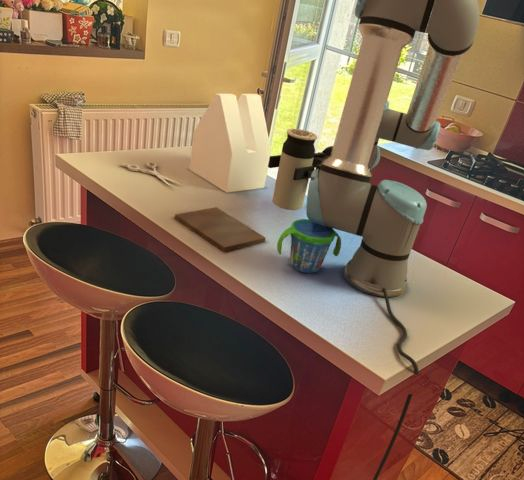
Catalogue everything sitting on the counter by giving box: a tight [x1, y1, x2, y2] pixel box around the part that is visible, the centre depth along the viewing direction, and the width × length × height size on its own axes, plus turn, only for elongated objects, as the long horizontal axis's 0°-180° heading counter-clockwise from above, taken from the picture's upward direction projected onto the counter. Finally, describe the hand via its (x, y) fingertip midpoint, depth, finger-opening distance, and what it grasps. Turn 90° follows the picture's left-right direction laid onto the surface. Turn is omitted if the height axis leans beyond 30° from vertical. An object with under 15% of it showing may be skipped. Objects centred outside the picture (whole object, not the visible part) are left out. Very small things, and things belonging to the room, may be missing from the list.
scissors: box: [120, 161, 180, 187], centre depth 163 cm, size 11×1×20 cm
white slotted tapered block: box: [189, 93, 272, 193], centre depth 166 cm, size 19×15×25 cm
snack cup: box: [276, 218, 342, 274], centre depth 130 cm, size 16×10×10 cm
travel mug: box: [271, 128, 318, 211], centre depth 136 cm, size 8×8×18 cm
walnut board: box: [174, 206, 266, 253], centre depth 141 cm, size 20×14×1 cm
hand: (282, 168), depth 132 cm, fingers closed on travel mug, 8 cm apart
